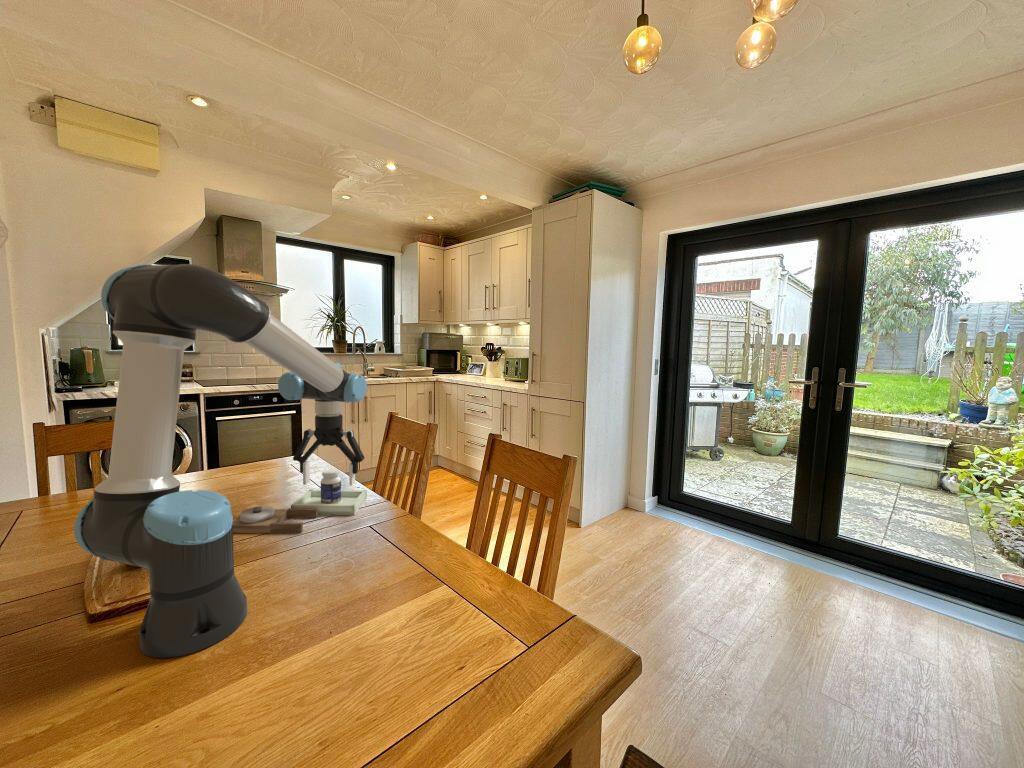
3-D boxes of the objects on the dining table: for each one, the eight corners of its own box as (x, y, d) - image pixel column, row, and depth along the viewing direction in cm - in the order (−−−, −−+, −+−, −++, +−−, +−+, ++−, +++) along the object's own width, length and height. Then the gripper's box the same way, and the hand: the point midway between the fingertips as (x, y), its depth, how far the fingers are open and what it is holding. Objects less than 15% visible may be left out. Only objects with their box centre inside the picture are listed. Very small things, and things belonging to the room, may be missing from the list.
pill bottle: (336, 506, 122) (335, 474, 121) (317, 506, 122) (316, 473, 121) (344, 499, 127) (343, 468, 126) (326, 498, 127) (325, 467, 126)
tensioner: (301, 533, 107) (300, 516, 107) (227, 532, 106) (226, 515, 106) (317, 516, 117) (317, 501, 117) (250, 516, 116) (249, 500, 116)
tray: (354, 515, 119) (353, 505, 118) (291, 515, 118) (290, 505, 118) (366, 499, 131) (366, 490, 130) (309, 498, 130) (309, 489, 129)
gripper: (374, 413, 125) (374, 480, 127) (292, 411, 124) (293, 478, 126) (367, 417, 118) (367, 488, 120) (279, 415, 117) (280, 487, 119)
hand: (329, 483), depth 123 cm, fingers open, 13 cm apart
